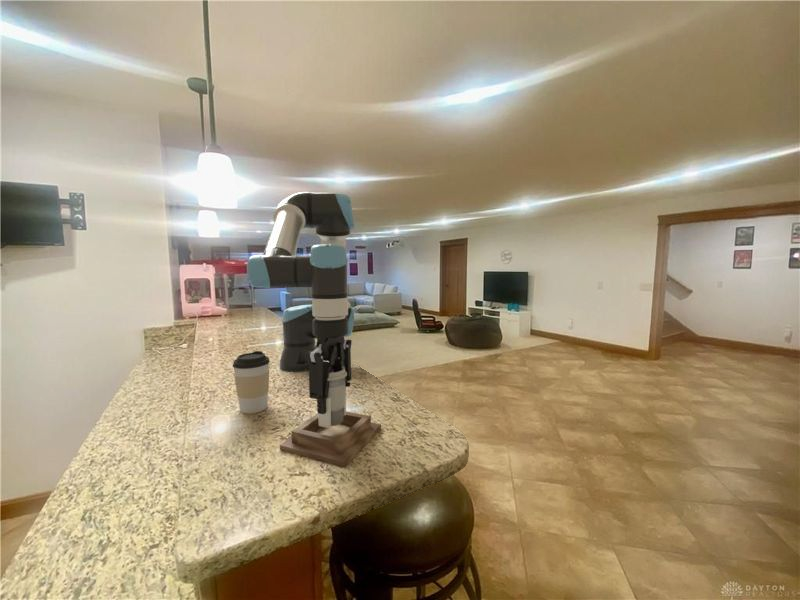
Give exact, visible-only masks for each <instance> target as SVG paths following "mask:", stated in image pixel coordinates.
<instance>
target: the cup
mask: <svg viewBox="0 0 800 600" xmlns="http://www.w3.org/2000/svg"><path fill="white" fill-rule="evenodd" d="M342 369H343V370H341V371H339V372H333V367H332V368H331V373H329V378H328V380H327V381H329V391H328V397H330V398H331V426H336V425H339V424H341V423H342V422H343V416H344V405H345V377H346V376H347V372H346V370H345V367H344V366H342Z"/></svg>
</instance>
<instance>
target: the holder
mask: <svg viewBox="0 0 800 600" xmlns="http://www.w3.org/2000/svg"><path fill="white" fill-rule="evenodd" d="M371 418H372V417H371V416H370V415H367V414H362V413H356V412H352V411H347V410H346V415H345V416H343V422H342V423H341V424H339V425H336V426H331V427H330V428H326V427H321V426H319V422H318V412H317V413H316V414H314V415H313V416H312V417H310V418H309V419H307V420H306V421H304V422H302V423H301V424H299V426H296V428H294V429H293V430H291V436H290V437H289V438H288V439H286V440H285V441H283V442H282V443H280V444H279V450H280V451H281V450H282V451H285V452H288V453H291V454H295V455H299V456H302V457H307V458H310V459H314V460H316V461H321V462H324V463H328V464H332V465H336V466H339V467H341V468H346V467H347V465H349V463H350V462H352V460H353V459H354V458H355V457H356V456H357V455H358V454H359V453H360V452H361V451H362V449H363V448H364V447H365V446H366V445H367V444H368V443H369V442H370V441H371V440H372V439H373V437H374V436H375V435H377V433H378V432H379V431H380V430H381V429H382V425H381V423H376V422H372V419H371Z"/></svg>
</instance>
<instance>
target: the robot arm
mask: <svg viewBox="0 0 800 600" xmlns="http://www.w3.org/2000/svg"><path fill="white" fill-rule="evenodd" d="M273 222H274V224H273V226H272V229H271V231H270V234H269V238H268V239H267V243H266V245H265V248H264V251H263V254H258V255H252V256H249V258H248V260H247V262H246V263H247V264H246V275H247V280H248V283H249V285H250V286H251V287H253V288H262V289H263V288H265V289H274V288H276V289H277V288H278V289H280V288H283V289H284V288H311V302H312V303H311V304H301V305H295V306H291V307H288V308H286V309H284V310H283V312H282V320H281V322H282V333H283V334H282V335H283V350H282V353H281V356H280V359H279V368H280V370H282V371H284V372H285V371H287V372H304V371H308V389H309V390H308V391H309V392H308V393H309V395H308V396H309V398H310V399H315V400H316V409H317V410H316V411H317V413H318V422H319V426H321V427H326V428H330V427H331V398H330V397H328V391H329V381H327V380H328V378H329V373H331V368H332V367H333V372H339V371H341V370H343V369H342V366H344V367H345V370H346V372H347V376H346V377H345V405H344V416H345V415H346V411H347V388H349V387H351V381H352V359H351V358H352V356H351V355H352V354H351V349H352V342H353V340H352V339H348V338H347V339H346V337H350V336H351V335H352V333H353V329H354V323H355V322H354V321H355V319H354V318H355V308H354V307H352V306H351V303H350V302H349V300H348V299H349V298H348V258H347V255H348V254H347V248H346V247H347V240H346V239H347V238H348V237H349V236H350V235H351V231H352V230H354V228H355V225H354V224H355V223H354V222H355V221H354V215H353V208H352V202H351V198H350V196H349V195H348V194H345V193H337V192H311V191H310V192H309V191H302V192H297V193H294V194H291V195H290V196H288V197H286V198H284V199H283V200H282V201H280V203H278V205H277V206H276V208H275V210H274V213H273ZM303 229H315V234H316V235H317V236H318V238H320V244H313V246H311V248H310V255H296V254H297V251H298V247H299V246H298V245H299V241H300V240H299V239H300V235H301V231H302V230H303Z"/></svg>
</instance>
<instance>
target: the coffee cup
mask: <svg viewBox="0 0 800 600" xmlns="http://www.w3.org/2000/svg"><path fill="white" fill-rule="evenodd" d="M270 363H271V361H270V358H269V356H266V355H265V353H264V352H263V351H260V350H256V351H252V352H247V353H241V354H239V355H238V356H236V359H234V360H233V365H232V367H233V370H234V374H233V375H234V382H235V387H236V388H235V389H236V394H237V397H238V399H237V400H238V405H239V411H240V412H241V413H243V414H256V413H259V412H263V411H264V410H266V409H267V408H268V402H269V401H268V400H269V399H268V398H269V390H270V389H269V387H270V368H269V367H270Z"/></svg>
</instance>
